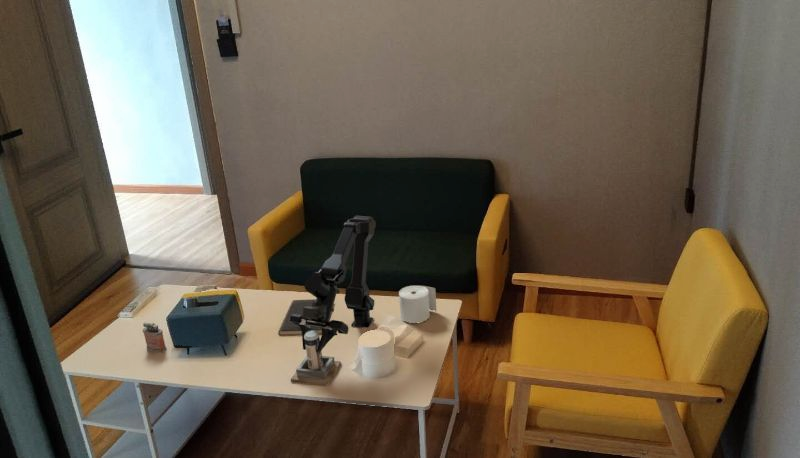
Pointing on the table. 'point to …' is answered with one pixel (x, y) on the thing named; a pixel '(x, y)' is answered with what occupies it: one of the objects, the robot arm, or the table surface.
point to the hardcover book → (297, 308)
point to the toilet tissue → (416, 303)
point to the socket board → (316, 372)
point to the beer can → (313, 350)
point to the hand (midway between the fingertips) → (311, 350)
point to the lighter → (154, 338)
